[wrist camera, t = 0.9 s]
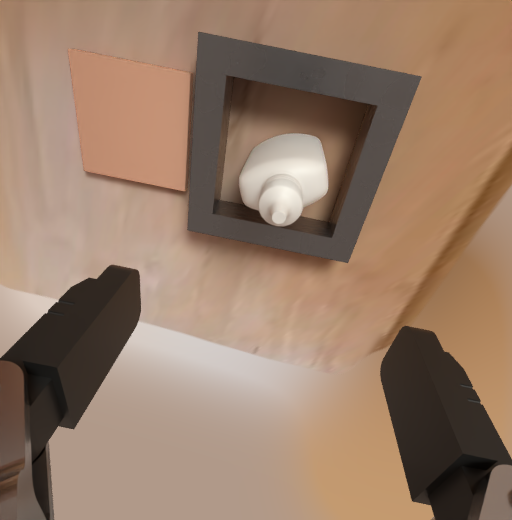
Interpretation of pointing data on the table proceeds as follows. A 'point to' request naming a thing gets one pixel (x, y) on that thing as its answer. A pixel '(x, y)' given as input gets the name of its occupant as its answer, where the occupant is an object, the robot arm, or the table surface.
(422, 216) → the table surface
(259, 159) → the eye dropper bottle
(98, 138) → the terracotta tile
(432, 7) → the table surface
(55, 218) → the table surface
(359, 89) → the socket plate
